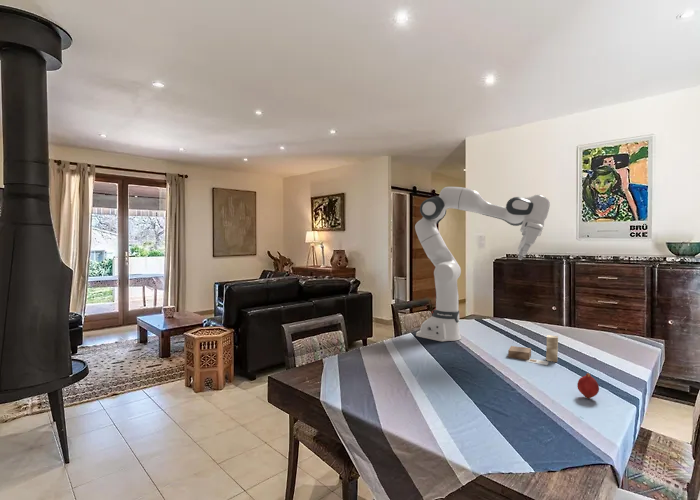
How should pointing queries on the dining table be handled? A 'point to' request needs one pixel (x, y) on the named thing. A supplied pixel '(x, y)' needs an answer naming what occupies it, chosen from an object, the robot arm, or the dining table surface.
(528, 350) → the plinth
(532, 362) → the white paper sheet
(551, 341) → the pillar
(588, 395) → the red rounded piece
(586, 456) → the dining table surface
